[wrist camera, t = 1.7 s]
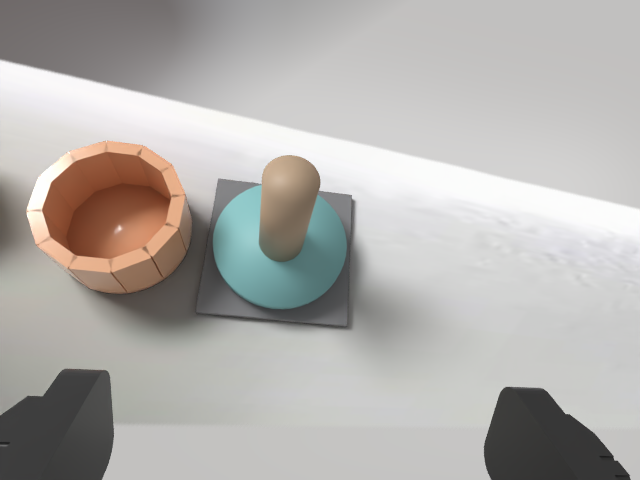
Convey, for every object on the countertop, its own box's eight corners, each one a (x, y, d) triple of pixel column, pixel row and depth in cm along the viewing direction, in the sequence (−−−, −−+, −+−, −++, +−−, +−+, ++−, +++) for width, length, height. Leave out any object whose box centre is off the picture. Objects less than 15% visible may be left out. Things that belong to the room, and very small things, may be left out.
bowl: (41, 287, 29) (7, 262, 25) (78, 171, 32) (53, 133, 28) (179, 299, 30) (168, 278, 26) (200, 186, 33) (194, 151, 29)
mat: (195, 313, 30) (195, 311, 29) (218, 181, 34) (218, 178, 33) (346, 326, 31) (347, 325, 30) (350, 197, 35) (351, 195, 34)
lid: (204, 304, 30) (186, 251, 21) (224, 185, 33) (215, 98, 25) (340, 317, 31) (375, 271, 22) (345, 200, 34) (377, 121, 26)
